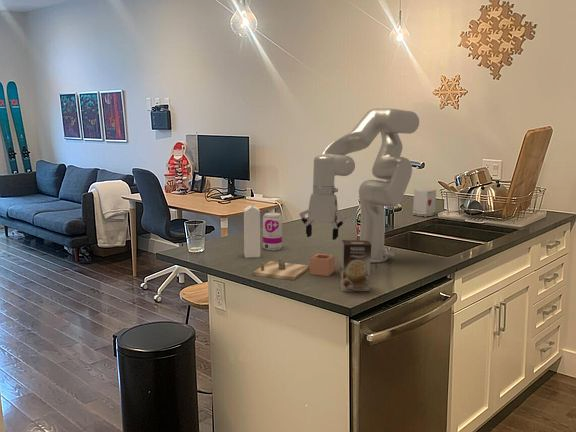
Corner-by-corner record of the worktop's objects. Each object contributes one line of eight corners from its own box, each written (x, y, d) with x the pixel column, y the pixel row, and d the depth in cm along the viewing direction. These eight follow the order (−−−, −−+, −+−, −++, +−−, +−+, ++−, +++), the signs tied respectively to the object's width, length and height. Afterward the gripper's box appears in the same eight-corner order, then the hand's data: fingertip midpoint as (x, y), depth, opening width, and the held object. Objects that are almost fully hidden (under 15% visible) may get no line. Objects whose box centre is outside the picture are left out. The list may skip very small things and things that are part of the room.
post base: (309, 268, 215) (309, 255, 214) (294, 280, 201) (294, 266, 200) (270, 264, 221) (270, 251, 220) (252, 275, 207) (252, 261, 206)
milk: (258, 253, 237) (258, 200, 233) (260, 257, 231) (260, 203, 227) (243, 254, 236) (243, 201, 232) (245, 257, 230) (245, 203, 226)
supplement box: (425, 218, 315) (427, 190, 312) (412, 215, 321) (413, 189, 319) (435, 216, 321) (436, 189, 318) (421, 213, 327) (423, 187, 325)
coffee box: (342, 292, 189) (343, 244, 186) (339, 286, 195) (340, 239, 192) (370, 291, 189) (371, 244, 186) (366, 285, 195) (368, 239, 192)
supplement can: (279, 251, 241) (280, 216, 238) (260, 250, 242) (260, 215, 240) (284, 246, 249) (284, 212, 246) (265, 245, 250) (265, 211, 247)
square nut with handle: (328, 276, 206) (328, 259, 205) (310, 274, 209) (310, 257, 207) (338, 267, 217) (339, 251, 216) (321, 265, 220) (321, 250, 219)
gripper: (349, 191, 205) (347, 238, 208) (304, 188, 211) (302, 233, 214) (343, 193, 198) (341, 242, 201) (296, 190, 204) (295, 237, 207)
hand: (321, 237), depth 208 cm, fingers open, 9 cm apart
